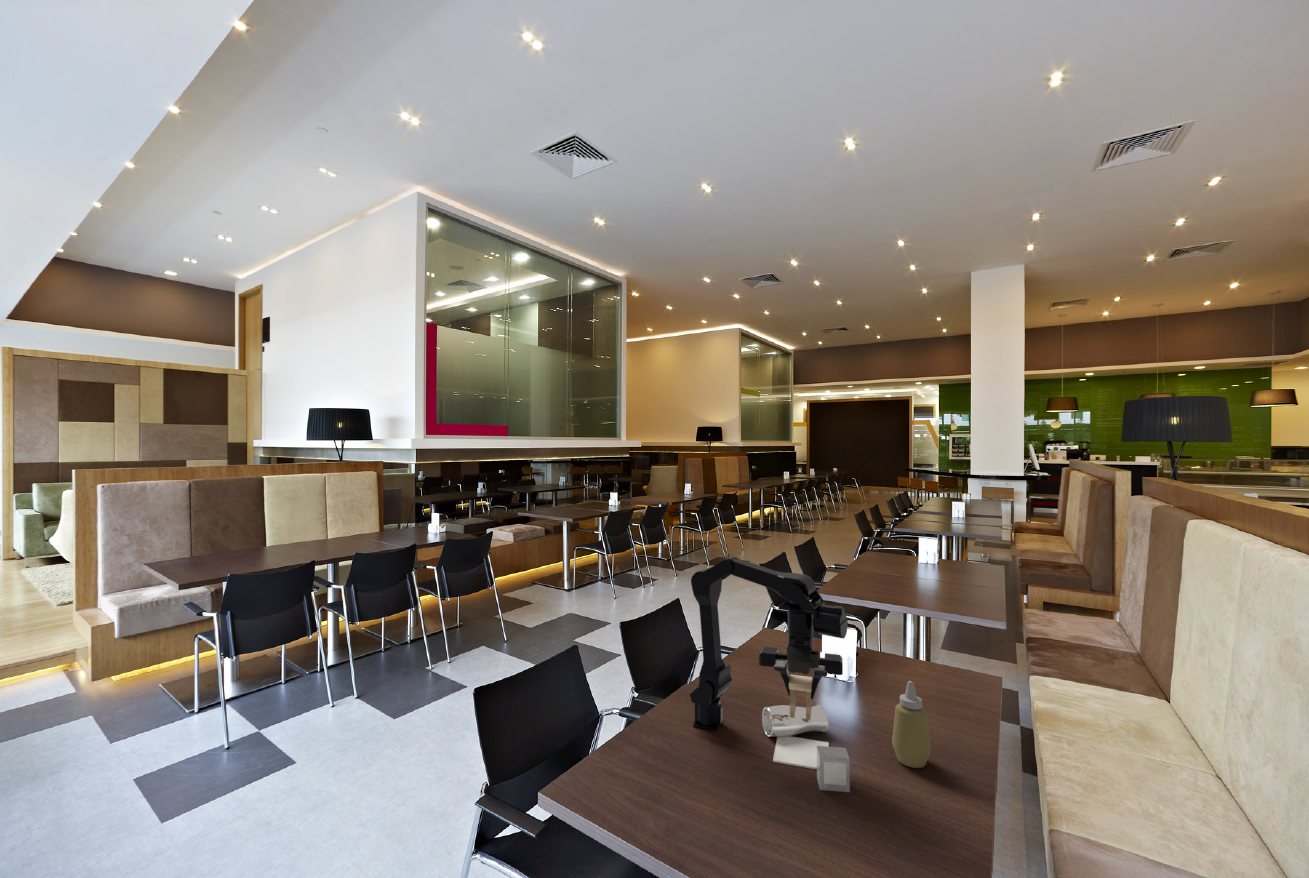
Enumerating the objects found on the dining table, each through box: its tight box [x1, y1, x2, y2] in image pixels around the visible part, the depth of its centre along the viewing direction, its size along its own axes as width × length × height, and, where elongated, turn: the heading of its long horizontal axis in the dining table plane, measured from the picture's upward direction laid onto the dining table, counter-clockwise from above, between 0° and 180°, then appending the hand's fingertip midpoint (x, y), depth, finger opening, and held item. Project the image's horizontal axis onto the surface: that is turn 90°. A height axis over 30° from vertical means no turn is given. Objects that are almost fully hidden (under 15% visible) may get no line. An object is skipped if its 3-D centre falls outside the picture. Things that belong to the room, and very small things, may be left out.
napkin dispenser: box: [816, 746, 851, 793], centre depth 116 cm, size 6×4×7 cm
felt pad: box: [772, 736, 830, 770], centre depth 129 cm, size 12×12×1 cm
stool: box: [789, 674, 813, 720], centre depth 129 cm, size 5×5×8 cm
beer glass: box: [761, 704, 829, 738], centre depth 138 cm, size 7×7×15 cm
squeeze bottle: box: [891, 680, 932, 769], centre depth 126 cm, size 8×8×18 cm
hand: (800, 697), depth 129 cm, fingers closed on stool, 5 cm apart
